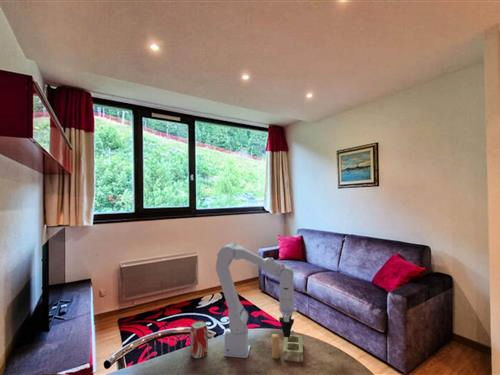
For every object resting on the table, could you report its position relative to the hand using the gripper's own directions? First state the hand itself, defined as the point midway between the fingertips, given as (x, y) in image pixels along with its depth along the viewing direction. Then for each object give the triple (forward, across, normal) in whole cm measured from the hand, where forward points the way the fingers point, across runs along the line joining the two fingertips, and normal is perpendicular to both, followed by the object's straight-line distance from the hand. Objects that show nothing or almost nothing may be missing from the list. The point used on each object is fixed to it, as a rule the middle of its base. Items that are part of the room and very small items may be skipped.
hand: (287, 331), depth 99 cm
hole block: (+10, +4, -2) cm, 11 cm away
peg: (+10, 0, +5) cm, 11 cm away
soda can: (+10, -3, +36) cm, 37 cm away
